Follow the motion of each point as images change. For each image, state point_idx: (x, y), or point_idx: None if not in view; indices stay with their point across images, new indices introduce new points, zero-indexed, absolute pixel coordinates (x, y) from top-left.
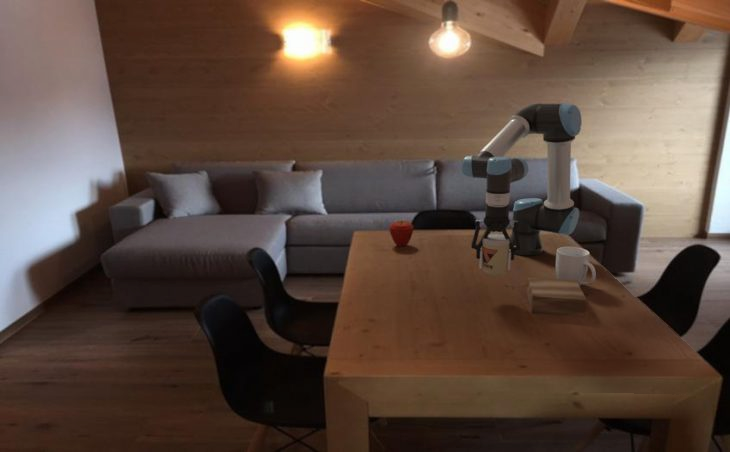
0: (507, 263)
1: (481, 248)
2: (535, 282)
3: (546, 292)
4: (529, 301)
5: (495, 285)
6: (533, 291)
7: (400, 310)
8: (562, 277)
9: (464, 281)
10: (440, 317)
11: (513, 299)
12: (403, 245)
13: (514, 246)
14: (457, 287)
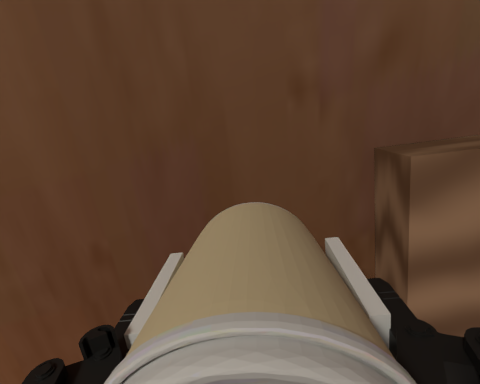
0: (331, 251)
1: (136, 335)
2: (438, 204)
3: (465, 298)
4: (378, 235)
5: (253, 94)
6: (414, 300)
7: (18, 361)
8: None
9: (126, 86)
10: None
11: (323, 211)
12: None
13: (450, 376)
14: (117, 158)
